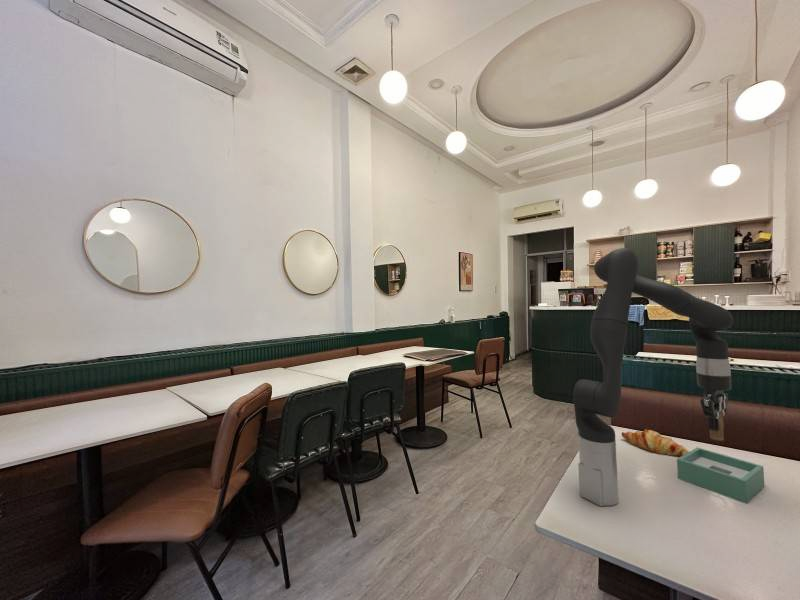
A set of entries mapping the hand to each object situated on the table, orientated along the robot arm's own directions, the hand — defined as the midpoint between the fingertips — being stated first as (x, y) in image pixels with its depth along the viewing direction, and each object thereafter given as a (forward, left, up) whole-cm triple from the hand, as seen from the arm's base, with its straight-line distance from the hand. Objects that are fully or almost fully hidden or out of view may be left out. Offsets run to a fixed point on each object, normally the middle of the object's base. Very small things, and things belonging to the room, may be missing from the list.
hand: (716, 428), depth 97 cm
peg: (0, 0, -3) cm, 3 cm away
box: (0, 0, -16) cm, 16 cm away
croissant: (+9, +21, -17) cm, 28 cm away
